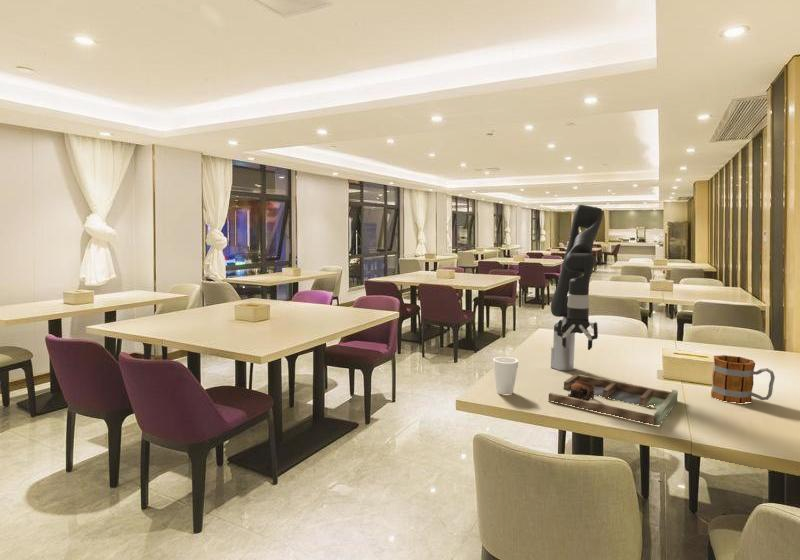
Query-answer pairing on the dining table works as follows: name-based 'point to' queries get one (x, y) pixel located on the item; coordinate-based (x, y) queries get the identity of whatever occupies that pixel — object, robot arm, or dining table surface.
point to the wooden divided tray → (621, 398)
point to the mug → (736, 379)
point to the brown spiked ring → (581, 386)
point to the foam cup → (505, 374)
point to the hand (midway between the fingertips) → (576, 348)
